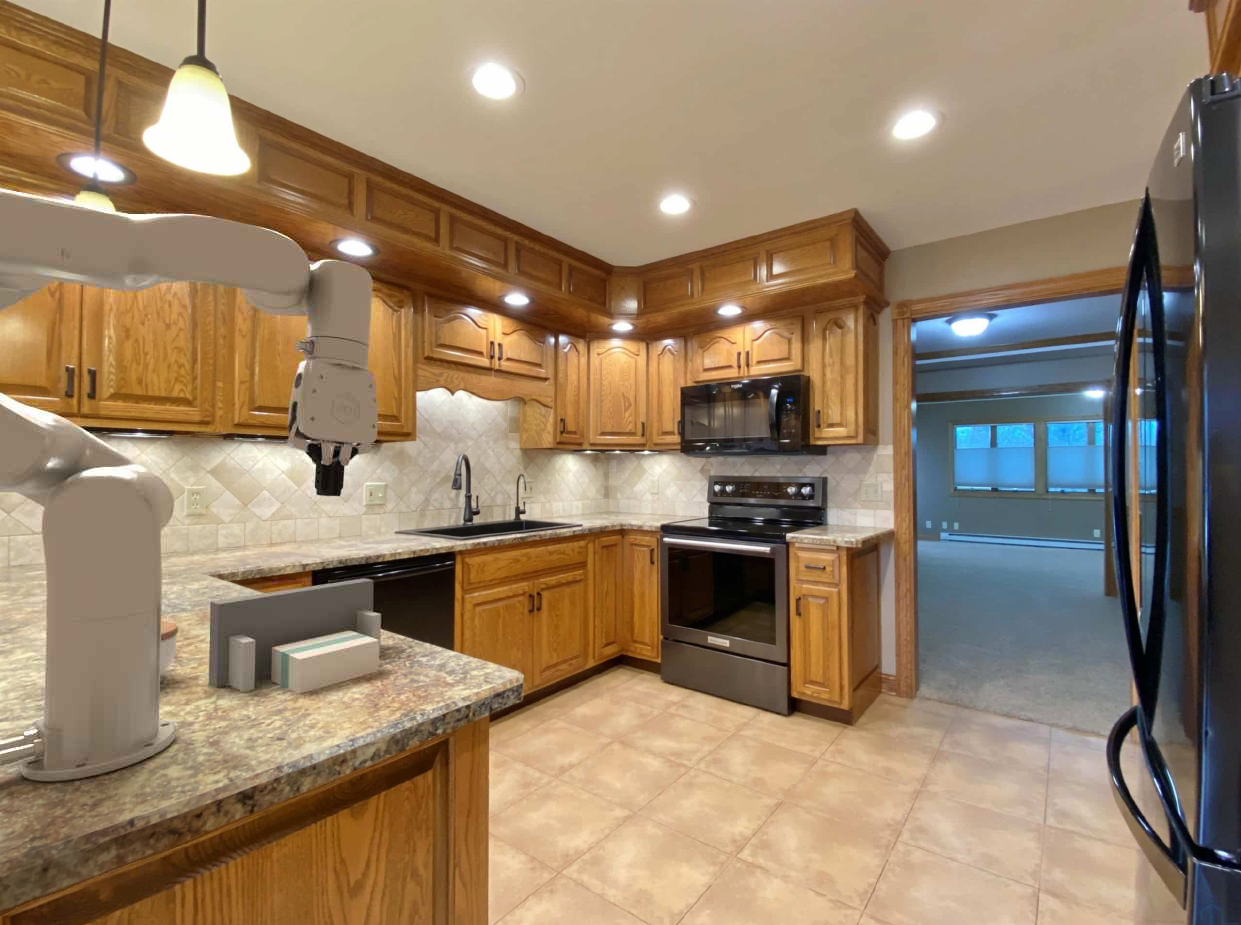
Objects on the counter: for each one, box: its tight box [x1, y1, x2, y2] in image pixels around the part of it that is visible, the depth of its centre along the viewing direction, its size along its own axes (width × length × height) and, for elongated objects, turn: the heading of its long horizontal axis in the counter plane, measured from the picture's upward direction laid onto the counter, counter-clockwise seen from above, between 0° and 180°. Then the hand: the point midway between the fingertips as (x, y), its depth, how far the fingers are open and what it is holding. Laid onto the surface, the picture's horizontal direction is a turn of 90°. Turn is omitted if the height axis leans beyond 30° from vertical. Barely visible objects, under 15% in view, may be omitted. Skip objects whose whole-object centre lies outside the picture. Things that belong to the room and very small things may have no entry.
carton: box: [270, 630, 380, 695], centre depth 88 cm, size 12×9×5 cm
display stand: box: [208, 578, 382, 693], centre depth 92 cm, size 24×8×12 cm, turn 144°
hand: (328, 495), depth 75 cm, fingers closed
